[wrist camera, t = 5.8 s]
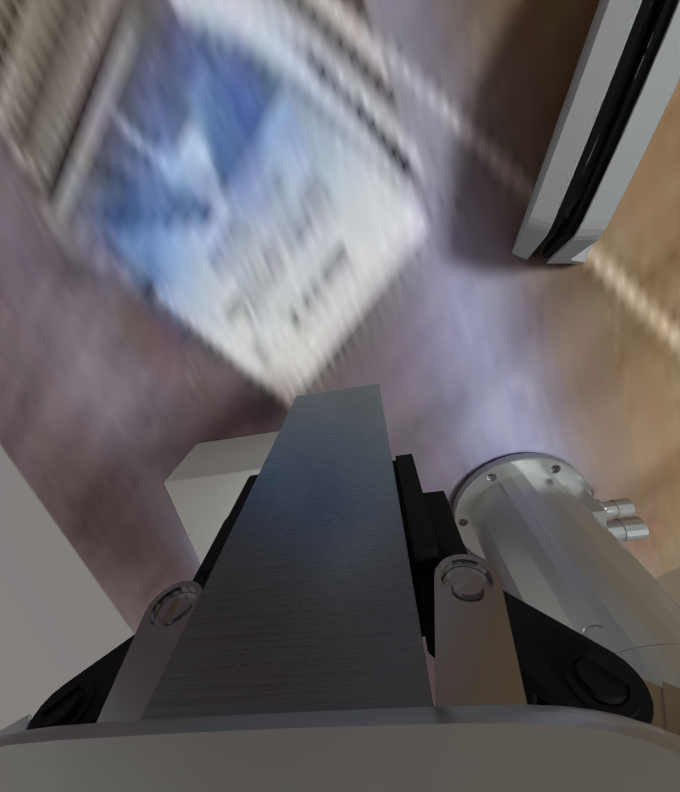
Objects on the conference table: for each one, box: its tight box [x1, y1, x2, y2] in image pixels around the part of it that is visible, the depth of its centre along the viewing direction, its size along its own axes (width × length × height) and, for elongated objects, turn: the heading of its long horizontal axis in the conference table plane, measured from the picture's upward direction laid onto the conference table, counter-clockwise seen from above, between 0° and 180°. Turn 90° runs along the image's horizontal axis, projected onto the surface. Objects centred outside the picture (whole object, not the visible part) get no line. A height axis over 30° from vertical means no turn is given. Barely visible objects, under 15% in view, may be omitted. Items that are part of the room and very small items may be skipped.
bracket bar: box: [140, 383, 433, 720], centre depth 10 cm, size 4×4×14 cm
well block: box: [164, 431, 279, 564], centre depth 31 cm, size 16×14×6 cm
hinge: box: [512, 0, 680, 265], centre depth 18 cm, size 17×5×10 cm, turn 169°
